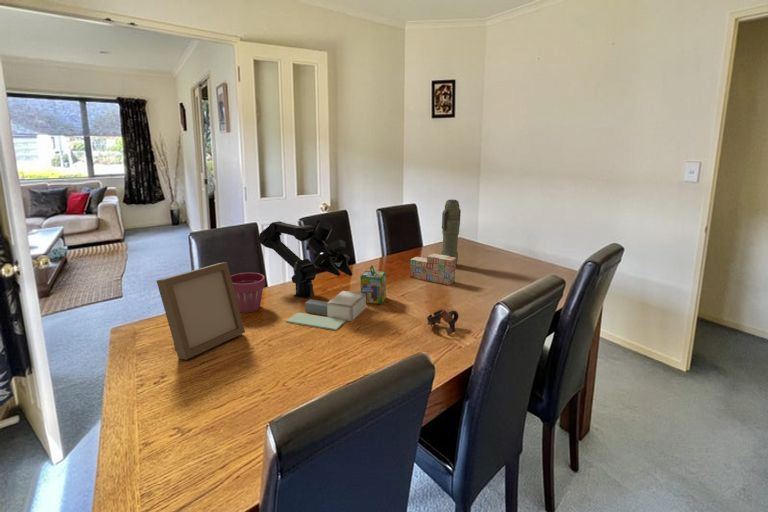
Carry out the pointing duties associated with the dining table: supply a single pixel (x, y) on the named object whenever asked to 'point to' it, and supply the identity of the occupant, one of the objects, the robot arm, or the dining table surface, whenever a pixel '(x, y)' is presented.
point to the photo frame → (201, 309)
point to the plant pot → (248, 290)
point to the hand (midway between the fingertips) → (345, 275)
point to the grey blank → (316, 306)
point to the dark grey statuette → (451, 228)
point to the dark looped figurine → (447, 318)
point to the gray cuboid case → (346, 305)
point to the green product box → (374, 286)
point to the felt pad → (316, 321)
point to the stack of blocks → (434, 268)
